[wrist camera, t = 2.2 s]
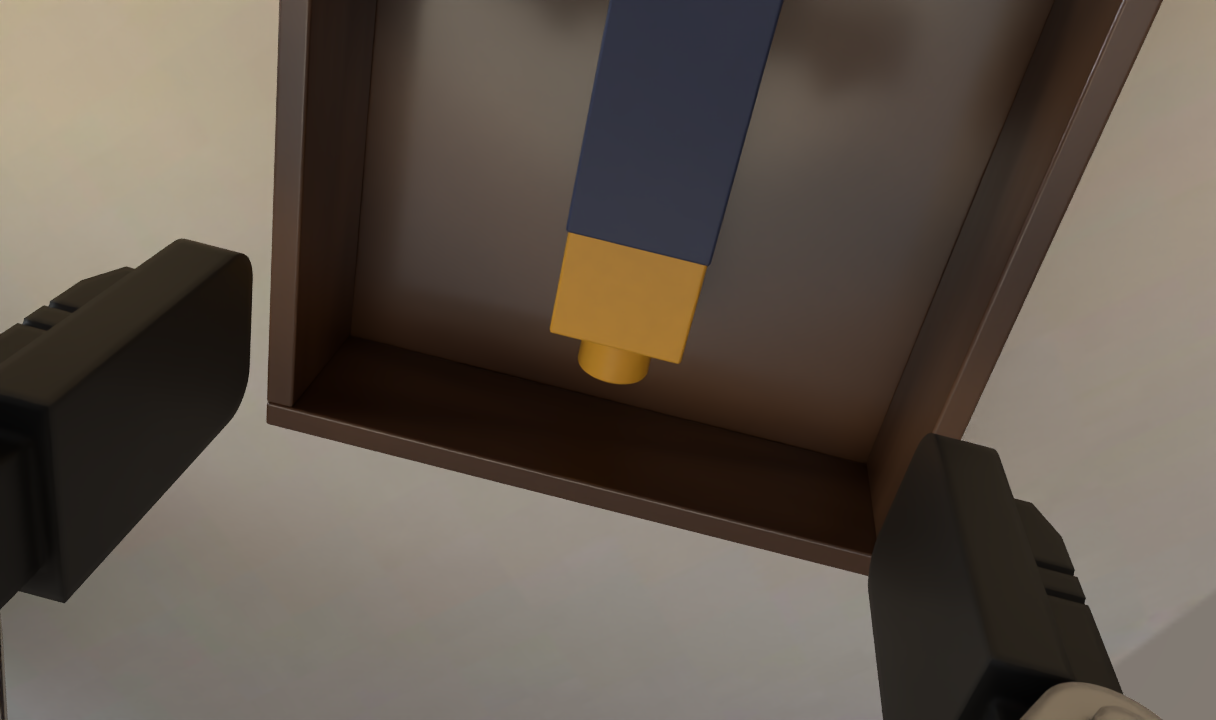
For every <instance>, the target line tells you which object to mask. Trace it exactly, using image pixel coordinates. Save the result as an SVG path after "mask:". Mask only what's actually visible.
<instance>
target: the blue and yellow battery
mask: <svg viewBox="0 0 1216 720" xmlns="http://www.w3.org/2000/svg"><path fill="white" fill-rule="evenodd" d="M782 4H783V0H610V1H609V6H608V11H607V17H606V22H605V27H604V32H603V38H602V43H601V48H600V53H599V58H598V64H597V69H596V74H595V79H594V85H593V90H592V95H591V100H590V106H589V111H588V116H587V121H586V126H585V132H584V137H583V142H582V147H581V153H580V158H579V163H578V168H577V174H576V179H575V184H574V189H573V194H572V200H571V205H570V210H569V215H568V221H567V226H566V230H567V231H568V236H567V241H566V246H565V251H564V257H563V262H562V267H561V272H560V277H559V282H558V288H557V293H556V298H555V303H554V308H553V314H552V319H551V324H550V332H552V333H555V334H559V335H563V336H567V337H571V338H575V339H579V340H581V344H580V349H579V353H578V362H579V365H580V366H581V368H582V369H583V370H584V371H585V372H586V373H588V374H589V375H591V376H592V377H594V378H596V379H599V380H601V381H604V382H608V383H613V384H632V383H636V382H639V381H640V380H642V379H643V378H644V377H645V376H646V375H647V372H648V369H649V365H650V361H651V357H652V358H656V359H660V360H664V361H668V362H672V363H676V364H679V363H680V362H681V361H682V357H683V354H684V350H685V346H686V343H687V339H688V335H689V332H690V328H691V324H692V321H693V317H694V313H695V310H696V306H697V302H698V299H699V295H700V291H701V288H702V284H703V281H704V277H705V273H706V270H707V266H709V265H710V264H711V262H712V258H713V254H714V251H715V247H716V244H717V240H718V236H719V233H720V229H721V225H722V222H723V218H724V214H725V211H726V207H727V204H728V200H729V196H730V193H731V189H732V185H733V182H734V178H735V175H736V171H737V167H738V164H739V160H740V156H741V153H742V149H743V146H744V142H745V138H746V135H747V131H748V127H749V124H750V120H751V117H752V113H753V109H754V106H755V102H756V98H757V95H758V91H759V88H760V84H761V80H762V77H763V73H764V69H765V66H766V62H767V59H768V55H769V51H770V48H771V44H772V40H773V37H774V33H775V29H776V26H777V22H778V19H779V15H780V11H781V8H782Z"/></svg>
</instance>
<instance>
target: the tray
mask: <svg viewBox="0 0 1216 720" xmlns="http://www.w3.org/2000/svg"><path fill="white" fill-rule="evenodd" d="M609 1H610V0H280V1H279V33H278V66H277V98H276V131H275V163H274V195H273V228H272V260H271V293H270V325H269V358H268V390H267V400H268V403H267V423H268V424H271V425H275V426H279V427H282V428H286V429H290V430H294V431H298V432H302V433H306V434H310V435H314V436H318V437H322V438H326V439H330V440H334V441H338V442H342V443H346V444H350V445H353V446H357V447H361V448H365V449H369V450H373V451H377V452H381V453H385V454H389V455H393V456H397V457H401V458H405V459H409V460H413V461H417V462H421V463H424V464H428V465H432V466H436V467H440V468H444V469H448V470H452V471H456V472H460V473H464V474H468V475H472V476H476V477H480V478H484V479H488V480H492V481H495V482H499V483H503V484H507V485H511V486H515V487H519V488H523V489H527V490H531V491H535V492H539V493H543V494H547V495H551V496H555V497H559V498H563V499H566V500H570V501H574V502H578V503H582V504H586V505H590V506H594V507H598V508H602V509H606V510H610V511H614V512H618V513H622V514H626V515H630V516H634V517H638V518H641V519H645V520H649V521H653V522H657V523H661V524H665V525H669V526H673V527H677V528H681V529H685V530H689V531H693V532H697V533H701V534H705V535H709V536H712V537H716V538H720V539H724V540H728V541H732V542H736V543H740V544H744V545H748V546H752V547H756V548H760V549H764V550H768V551H772V552H776V553H780V554H783V555H787V556H791V557H795V558H799V559H803V560H807V561H811V562H815V563H819V564H823V565H827V566H831V567H835V568H839V569H843V570H847V571H851V572H854V573H858V574H862V575H866V576H869V567H870V562H871V557H872V552H873V549H874V545H875V542H876V539H877V537H878V534H879V532H880V530H881V527H882V525H883V523H884V520H885V518H886V516H887V514H888V511H889V509H890V507H891V505H892V502H893V500H894V498H895V495H896V493H897V491H898V489H899V486H900V484H901V482H902V480H903V477H904V475H905V473H906V471H907V468H908V466H909V464H910V461H911V459H912V457H913V455H914V452H915V450H916V448H917V446H918V444H919V443H920V441H921V440H922V438H923V437H924V436H925V435H926V434H928V433H934V434H938V435H942V436H946V437H950V438H954V439H958V440H961V438H962V436H963V434H964V432H965V430H966V427H967V425H968V423H969V421H970V419H971V417H972V414H973V412H974V410H975V408H976V406H977V403H978V401H979V399H980V397H981V395H982V393H983V390H984V388H985V386H986V384H987V382H988V380H989V377H990V375H991V373H992V371H993V369H994V366H995V364H996V362H997V360H998V358H999V356H1000V353H1001V351H1002V349H1003V347H1004V345H1005V343H1006V340H1007V338H1008V336H1009V334H1010V332H1011V330H1012V327H1013V325H1014V323H1015V321H1016V319H1017V316H1018V314H1019V312H1020V310H1021V308H1022V306H1023V303H1024V301H1025V299H1026V297H1027V295H1028V293H1029V290H1030V288H1031V286H1032V284H1033V282H1034V280H1035V277H1036V275H1037V273H1038V271H1039V269H1040V266H1041V264H1042V262H1043V260H1044V258H1045V256H1046V253H1047V251H1048V249H1049V247H1050V245H1051V243H1052V240H1053V238H1054V236H1055V234H1056V232H1057V230H1058V227H1059V225H1060V223H1061V221H1062V219H1063V216H1064V214H1065V212H1066V210H1067V208H1068V206H1069V203H1070V201H1071V199H1072V197H1073V195H1074V193H1075V190H1076V188H1077V186H1078V184H1079V182H1080V180H1081V177H1082V175H1083V173H1084V171H1085V169H1086V166H1087V164H1088V162H1089V160H1090V158H1091V156H1092V153H1093V151H1094V149H1095V147H1096V145H1097V143H1098V140H1099V138H1100V136H1101V134H1102V132H1103V130H1104V127H1105V125H1106V123H1107V121H1108V119H1109V116H1110V114H1111V112H1112V110H1113V108H1114V106H1115V103H1116V101H1117V99H1118V97H1119V95H1120V93H1121V90H1122V88H1123V86H1124V84H1125V82H1126V79H1127V77H1128V75H1129V73H1130V71H1131V69H1132V66H1133V64H1134V62H1135V60H1136V58H1137V56H1138V53H1139V51H1140V49H1141V47H1142V45H1143V43H1144V40H1145V38H1146V36H1147V34H1148V32H1149V29H1150V27H1151V25H1152V23H1153V21H1154V19H1155V16H1156V14H1157V12H1158V10H1159V8H1160V6H1161V3H1162V1H1163V0H783V4H782V8H781V11H780V15H779V19H778V22H777V26H776V29H775V33H774V37H773V40H772V44H771V48H770V51H769V55H768V59H767V62H766V66H765V69H764V73H763V77H762V80H761V84H760V88H759V91H758V95H757V98H756V102H755V106H754V109H753V113H752V117H751V120H750V124H749V127H748V131H747V135H746V138H745V142H744V146H743V149H742V153H741V156H740V160H739V164H738V167H737V171H736V175H735V178H734V182H733V185H732V189H731V193H730V196H729V200H728V204H727V207H726V211H725V214H724V218H723V222H722V225H721V229H720V233H719V236H718V240H717V244H716V247H715V251H714V254H713V258H712V262H711V264H710V265H709V266H707V270H706V273H705V277H704V281H703V284H702V288H701V291H700V295H699V299H698V302H697V306H696V310H695V313H694V317H693V321H692V324H691V328H690V332H689V335H688V339H687V343H686V346H685V350H684V354H683V357H682V361H681V362H680V363H679V364H676V363H672V362H668V361H664V360H660V359H656V358H652V357H651V361H650V365H649V369H648V372H647V375H646V376H645V377H644V378H643V379H642V380H640V381H639V382H636V383H632V384H613V383H608V382H604V381H601V380H599V379H596V378H594V377H592V376H591V375H589V374H588V373H586V372H585V371H584V370H583V369H582V368H581V366H580V365H579V362H578V353H579V349H580V344H581V340H579V339H575V338H571V337H567V336H563V335H559V334H555V333H552V332H550V324H551V319H552V314H553V308H554V303H555V298H556V293H557V288H558V282H559V277H560V272H561V267H562V262H563V257H564V251H565V246H566V241H567V236H568V231H567V230H566V226H567V221H568V215H569V210H570V205H571V200H572V194H573V189H574V184H575V179H576V174H577V168H578V163H579V158H580V153H581V147H582V142H583V137H584V132H585V126H586V121H587V116H588V111H589V106H590V100H591V95H592V90H593V85H594V79H595V74H596V69H597V64H598V58H599V53H600V48H601V43H602V38H603V32H604V27H605V22H606V17H607V11H608V6H609Z"/></svg>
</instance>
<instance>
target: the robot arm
mask: <svg viewBox="0 0 1216 720" xmlns="http://www.w3.org/2000/svg"><path fill="white" fill-rule="evenodd" d="M252 282H253V273H252V266H251V262H250V260H249V258H248V257H247V256H246V255H245V254H242V253H238V252H234V251H230V250H226V249H223V248H219V247H215V246H211V245H207V244H203V243H199V242H195V241H191V240H188V239H178V240H176V241H174V242H173V243H171V244H170V245H168V246H167V247H165V248H164V249H163V250H161V251H160V252H158V253H157V254H155V255H154V256H153V257H151V258H150V259H148V260H147V261H146V262H144V263H143V264H141V265H140V266H138V267H137V268H136V269H133V268H129V267H123V268H120V269H117V270H113V271H110V272H107V273H104V274H100V275H97V276H94V277H91V278H87V279H84V280H81V281H80V282H78V283H77V284H75V285H74V286H72V287H71V288H69V289H68V290H66V291H65V292H63V293H62V294H60V295H59V296H57V297H56V298H54V299H53V300H51V301H50V305H49V306H42V307H41V308H39V309H38V310H36V311H35V312H33V313H32V314H30V315H29V316H27V317H26V318H24V322H23V324H19V323H17V324H15V325H14V326H12V327H11V328H9V329H8V330H6V331H5V332H3V333H2V334H0V609H1V608H2V607H3V606H4V605H5V604H6V603H7V602H8V601H9V600H10V599H11V598H12V597H13V596H14V595H15V594H16V593H17V592H18V591H21V592H25V593H28V594H32V595H36V596H39V597H43V598H47V599H51V600H54V601H58V602H62V603H65V602H66V601H67V600H68V599H69V598H70V597H71V596H72V595H73V594H74V592H75V591H76V590H77V589H78V588H79V587H80V586H81V585H82V584H83V583H84V581H85V580H86V579H87V578H88V577H89V576H90V575H91V574H92V573H93V572H94V570H95V569H96V568H97V567H98V566H99V565H100V564H101V563H102V562H103V561H104V559H105V558H106V557H107V556H108V555H109V554H110V553H111V552H112V551H113V549H114V548H115V547H116V546H117V545H118V544H119V543H120V542H121V541H122V540H123V538H124V537H125V536H126V535H127V534H128V533H129V532H130V531H131V530H132V529H133V527H134V526H135V525H136V524H137V523H138V522H139V521H140V520H141V519H142V517H143V516H144V515H145V514H146V513H147V512H148V511H149V510H150V509H151V508H152V506H153V505H154V504H155V503H156V502H157V501H158V500H159V499H160V498H161V497H162V495H163V494H164V493H165V492H166V491H167V490H168V489H169V488H170V487H171V486H172V484H173V483H174V482H175V481H176V480H177V479H178V478H179V477H180V476H181V474H182V473H183V472H184V471H185V470H186V469H187V468H188V467H189V466H190V465H191V463H192V462H193V461H194V460H195V459H196V458H197V457H198V456H199V455H200V454H201V452H202V451H203V450H204V449H205V448H206V447H207V446H208V445H209V444H210V443H211V441H212V440H213V439H214V438H215V437H216V436H217V435H218V434H219V433H220V431H221V430H222V429H223V428H224V427H225V426H226V425H227V424H228V423H229V422H230V420H231V419H232V418H233V416H234V415H235V413H236V412H237V410H238V408H239V406H240V404H241V401H242V399H243V396H244V393H245V390H246V387H247V382H248V377H249V368H250V341H251V311H252ZM1074 571H1075V570H1074V567H1073V565H1072V562H1071V559H1070V557H1069V554H1068V552H1067V549H1066V547H1065V544H1064V542H1063V539H1062V537H1061V536H1060V534H1059V533H1058V532H1057V531H1056V530H1055V529H1054V528H1053V526H1052V525H1051V524H1050V523H1049V522H1048V521H1047V520H1046V518H1045V517H1044V516H1043V515H1042V514H1041V513H1040V512H1039V510H1038V509H1037V508H1036V507H1035V506H1034V505H1033V504H1032V503H1030V502H1026V501H1022V500H1018V499H1014V498H1013V495H1012V492H1011V489H1010V486H1009V483H1008V480H1007V477H1006V474H1005V472H1004V469H1003V466H1002V463H1001V460H1000V457H999V455H998V453H997V451H996V450H995V449H992V448H989V447H985V446H981V445H977V444H973V443H969V442H965V441H961V440H958V439H954V438H950V437H946V436H942V435H938V434H934V433H928V434H926V435H925V436H924V437H923V438H922V440H921V441H920V443H919V444H918V446H917V448H916V450H915V452H914V455H913V457H912V459H911V461H910V464H909V466H908V468H907V471H906V473H905V475H904V477H903V480H902V482H901V484H900V486H899V489H898V491H897V493H896V495H895V498H894V500H893V502H892V505H891V507H890V509H889V511H888V514H887V516H886V518H885V520H884V523H883V525H882V527H881V530H880V532H879V534H878V537H877V539H876V542H875V545H874V549H873V552H872V557H871V562H870V567H869V576H868V592H869V601H870V609H871V618H872V627H873V635H874V644H875V653H876V661H877V670H878V679H879V687H880V696H881V705H882V713H883V720H1162V719H1161V718H1160V717H1159V716H1157V715H1156V714H1155V713H1153V712H1152V711H1150V710H1149V709H1147V708H1146V707H1144V706H1143V705H1141V704H1140V703H1138V702H1136V701H1134V700H1133V699H1131V698H1129V697H1127V696H1125V695H1123V692H1122V690H1121V687H1120V685H1119V682H1118V679H1117V677H1116V674H1115V672H1114V669H1113V667H1112V664H1111V661H1110V659H1109V656H1108V654H1107V651H1106V649H1105V646H1104V644H1103V641H1102V639H1101V636H1100V633H1099V631H1098V628H1097V626H1096V623H1095V621H1094V618H1093V616H1092V613H1091V610H1090V608H1089V606H1088V605H1085V599H1086V598H1085V595H1084V593H1083V590H1082V588H1081V585H1080V582H1079V580H1078V577H1075V576H1074ZM0 720H8V716H7V699H6V682H5V664H4V647H3V630H2V622H1V614H0Z"/></svg>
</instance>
